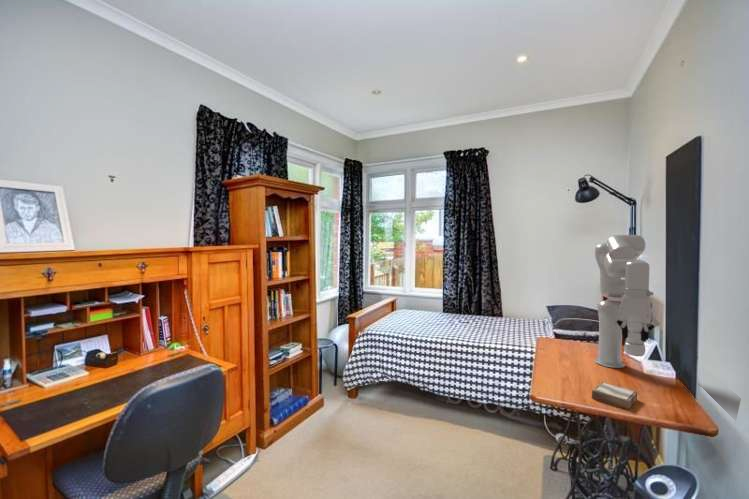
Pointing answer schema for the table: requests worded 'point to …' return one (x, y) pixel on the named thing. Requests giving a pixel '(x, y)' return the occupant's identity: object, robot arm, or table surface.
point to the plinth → (614, 395)
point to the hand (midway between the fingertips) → (634, 338)
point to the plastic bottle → (634, 336)
